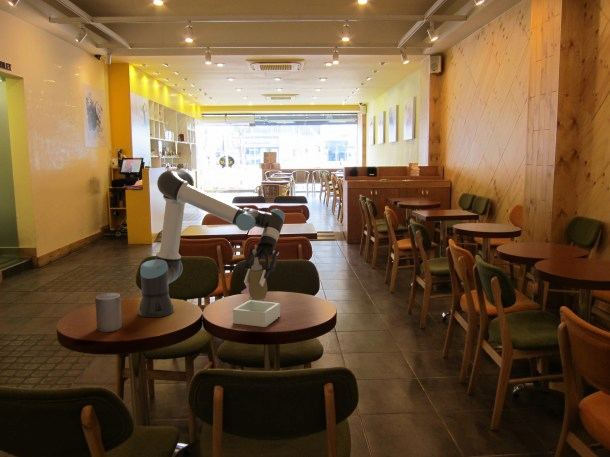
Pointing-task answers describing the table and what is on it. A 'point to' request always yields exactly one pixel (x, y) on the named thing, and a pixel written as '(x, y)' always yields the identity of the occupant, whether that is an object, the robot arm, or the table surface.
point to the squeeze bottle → (257, 282)
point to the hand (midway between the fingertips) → (253, 283)
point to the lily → (247, 291)
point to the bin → (256, 313)
